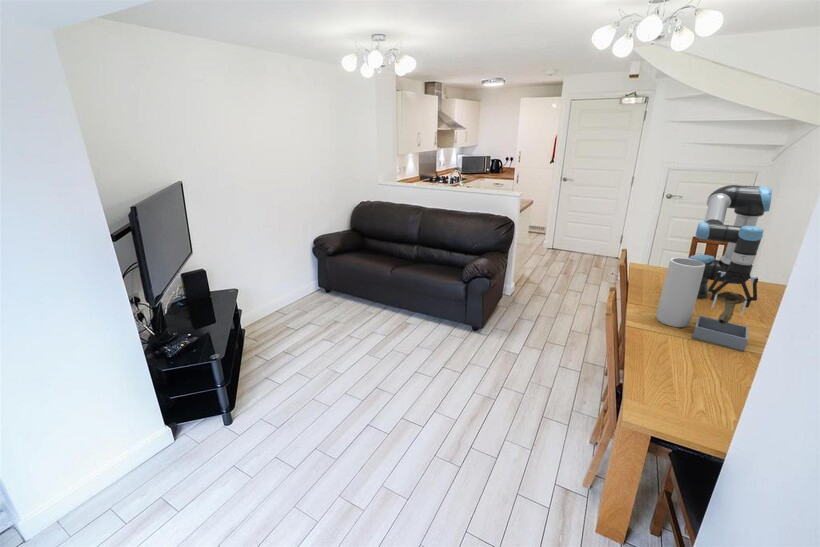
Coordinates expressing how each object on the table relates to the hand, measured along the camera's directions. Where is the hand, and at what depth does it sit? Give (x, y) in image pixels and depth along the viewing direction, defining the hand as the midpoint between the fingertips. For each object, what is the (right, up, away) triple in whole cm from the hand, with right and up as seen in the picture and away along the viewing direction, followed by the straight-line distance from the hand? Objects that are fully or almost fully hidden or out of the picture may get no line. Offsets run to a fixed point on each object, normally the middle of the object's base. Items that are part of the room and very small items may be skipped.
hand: (726, 310), depth 172 cm
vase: (-10, -8, +21) cm, 25 cm away
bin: (0, -13, +5) cm, 14 cm away
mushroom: (0, -6, +2) cm, 7 cm away
